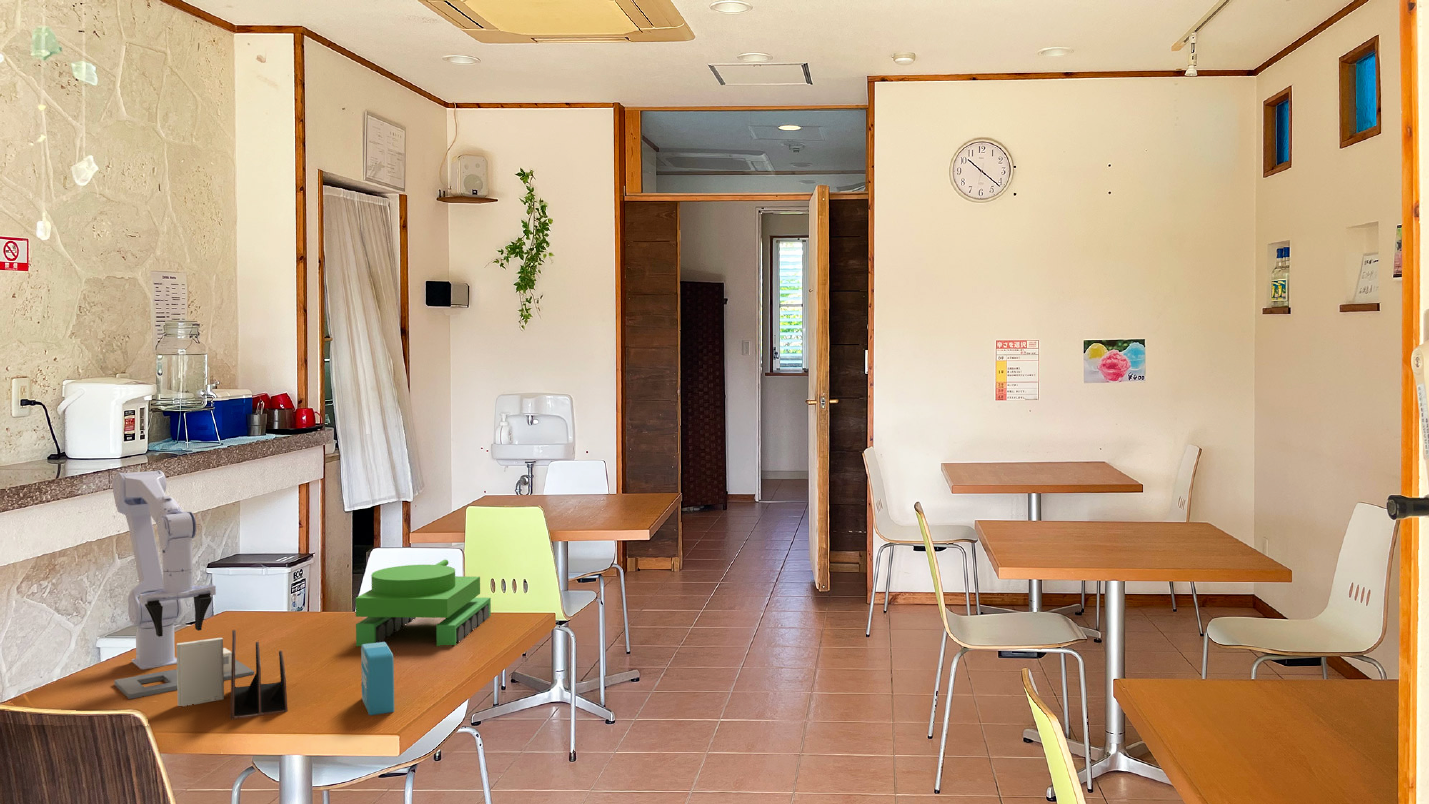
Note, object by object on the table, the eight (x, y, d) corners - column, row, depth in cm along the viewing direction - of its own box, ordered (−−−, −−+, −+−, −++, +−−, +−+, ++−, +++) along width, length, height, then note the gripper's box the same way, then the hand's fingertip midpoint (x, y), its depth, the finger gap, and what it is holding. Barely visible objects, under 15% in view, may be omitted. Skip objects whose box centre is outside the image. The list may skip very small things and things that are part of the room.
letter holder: (230, 723, 198) (228, 648, 197) (231, 693, 216) (229, 625, 215) (288, 716, 202) (286, 642, 201) (284, 687, 220) (282, 619, 220)
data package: (361, 703, 209) (360, 642, 209) (385, 700, 211) (384, 640, 211) (369, 721, 198) (368, 657, 198) (394, 717, 200) (393, 654, 200)
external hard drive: (224, 701, 211) (223, 638, 210) (178, 708, 206) (177, 645, 206) (223, 698, 212) (221, 637, 212) (177, 706, 208) (176, 643, 207)
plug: (205, 671, 232) (204, 648, 232) (222, 668, 234) (221, 645, 234) (215, 678, 226) (214, 655, 226) (232, 675, 229) (232, 652, 228)
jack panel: (114, 684, 222) (114, 678, 222) (235, 663, 238) (235, 657, 238) (129, 699, 212) (129, 692, 212) (254, 675, 228) (254, 669, 228)
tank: (498, 617, 282) (497, 555, 281) (457, 652, 247) (456, 582, 246) (408, 616, 283) (407, 555, 283) (355, 651, 249) (354, 581, 248)
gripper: (144, 576, 219) (146, 642, 220) (219, 567, 229) (220, 630, 229) (136, 571, 225) (137, 635, 225) (209, 563, 234) (210, 624, 235)
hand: (179, 632), depth 227 cm, fingers open, 7 cm apart
